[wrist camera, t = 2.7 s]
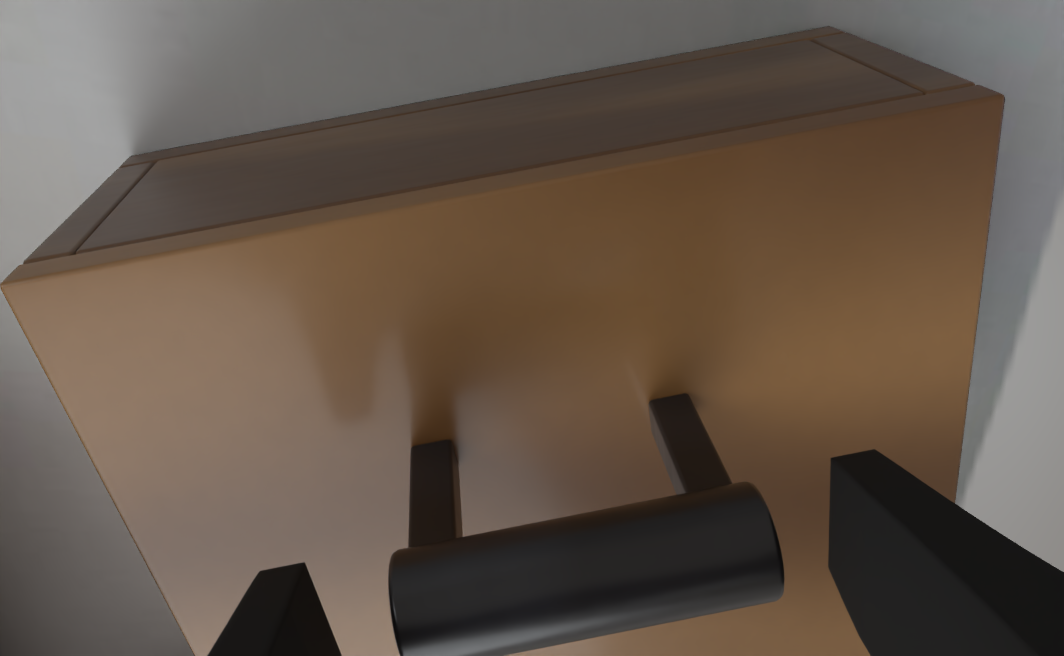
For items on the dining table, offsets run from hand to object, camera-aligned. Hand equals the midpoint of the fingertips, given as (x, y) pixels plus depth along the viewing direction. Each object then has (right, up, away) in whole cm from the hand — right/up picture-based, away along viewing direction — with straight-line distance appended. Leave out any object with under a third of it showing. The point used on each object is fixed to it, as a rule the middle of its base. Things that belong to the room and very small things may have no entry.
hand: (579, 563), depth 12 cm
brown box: (0, 0, +4) cm, 4 cm away
